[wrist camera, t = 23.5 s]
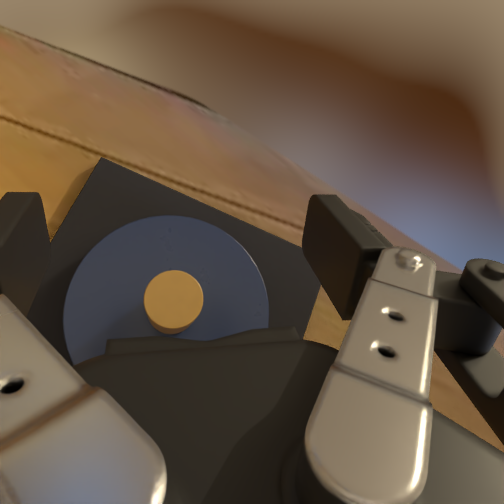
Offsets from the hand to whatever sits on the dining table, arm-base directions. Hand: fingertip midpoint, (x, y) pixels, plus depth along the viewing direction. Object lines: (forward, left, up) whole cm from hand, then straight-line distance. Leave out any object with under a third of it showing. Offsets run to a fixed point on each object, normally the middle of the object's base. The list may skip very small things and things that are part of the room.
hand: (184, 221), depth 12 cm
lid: (+1, +1, -13) cm, 13 cm away
